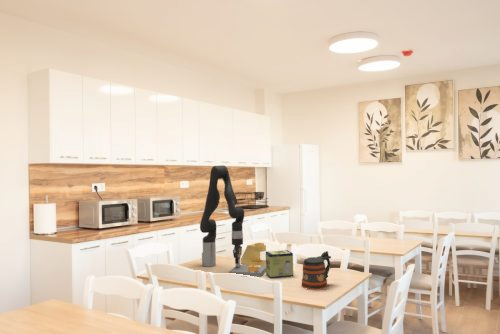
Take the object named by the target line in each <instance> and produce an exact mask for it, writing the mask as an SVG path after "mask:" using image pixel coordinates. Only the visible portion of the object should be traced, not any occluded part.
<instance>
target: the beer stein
mask: <svg viewBox="0 0 500 334" xmlns="http://www.w3.org/2000/svg"><path fill="white" fill-rule="evenodd" d="M331 258H332V256H330V255H329V251H324V252H322V253H321V255H319V256H315V257H314V256H313V257H307V258H305V259H304V260H303V263H302V279H301V288H303V289H305V288H307V289H306V290H312V289H319V290H324V289H326V287H327V288H328V277H329V271H330V268H331V260H330V259H331ZM325 261H326V263H327V265H326V264H325ZM323 288H324V289H323Z"/></svg>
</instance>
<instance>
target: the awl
mask: <svg viewBox="0 0 500 334" xmlns="http://www.w3.org/2000/svg"><path fill="white" fill-rule="evenodd" d="M240 265H241V257H240V253H239V263H238V264H235V266H234V267H235V268H240Z"/></svg>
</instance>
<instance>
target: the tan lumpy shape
mask: <svg viewBox="0 0 500 334" xmlns="http://www.w3.org/2000/svg"><path fill="white" fill-rule="evenodd" d="M261 252H267V246H266V245H265V243H264V242H255V243H254V244H253V243H252V244H247V246H246V248H245V249H244V251H243V254H242V255H241V257H240V265H255V266H256V265H260V266H266V259H265V260H264V259H261Z"/></svg>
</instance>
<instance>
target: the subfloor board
mask: <svg viewBox="0 0 500 334" xmlns="http://www.w3.org/2000/svg"><path fill="white" fill-rule="evenodd" d="M248 266H249V265H245V264H240V268H235V266H234V267H233V268H231V269H230V270H229V272H228V274H229V273H236V274H243V275H250V276H257V277H256V278H261V277H262V276H264V274H266V266H260V265H256V266H259V270H258V271H257V272H250V271H248Z"/></svg>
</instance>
